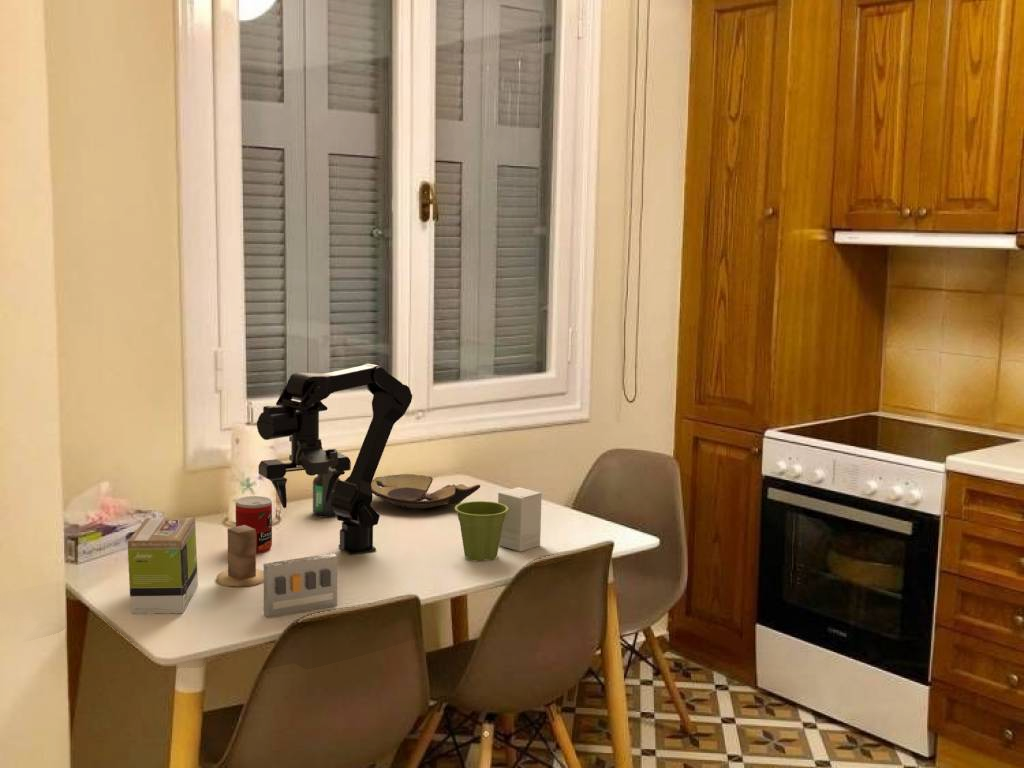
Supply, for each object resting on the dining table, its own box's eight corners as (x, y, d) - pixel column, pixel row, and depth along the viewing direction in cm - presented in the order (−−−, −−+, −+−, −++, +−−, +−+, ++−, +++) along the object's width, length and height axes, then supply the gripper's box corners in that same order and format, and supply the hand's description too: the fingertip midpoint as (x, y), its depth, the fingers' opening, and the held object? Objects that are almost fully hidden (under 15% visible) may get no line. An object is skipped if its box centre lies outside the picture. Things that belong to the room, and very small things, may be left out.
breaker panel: (332, 602, 219) (333, 553, 217) (338, 607, 217) (339, 557, 215) (263, 614, 212) (263, 563, 210) (269, 619, 209) (268, 568, 208)
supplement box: (541, 545, 259) (543, 492, 257) (519, 552, 253) (521, 498, 251) (517, 538, 264) (519, 486, 261) (495, 545, 258) (497, 491, 256)
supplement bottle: (319, 519, 274) (319, 471, 272) (308, 512, 280) (308, 465, 278) (345, 515, 278) (345, 468, 276) (333, 508, 283) (333, 462, 281)
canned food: (263, 555, 246) (263, 506, 244) (229, 551, 247) (229, 503, 246) (277, 544, 253) (277, 497, 252) (244, 541, 255) (244, 494, 253)
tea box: (147, 587, 224) (146, 515, 222) (199, 587, 225) (197, 515, 223) (128, 615, 210) (126, 538, 207) (183, 614, 211) (182, 538, 208)
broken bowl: (414, 487, 306) (415, 460, 305) (492, 511, 286) (493, 482, 285) (349, 501, 290) (349, 473, 289) (426, 528, 270) (426, 497, 269)
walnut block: (244, 571, 233) (244, 524, 232) (255, 576, 231) (255, 529, 229) (228, 575, 231) (227, 528, 229) (239, 580, 228) (238, 533, 226)
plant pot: (506, 548, 256) (508, 500, 254) (507, 566, 244) (509, 515, 242) (454, 547, 255) (455, 499, 253) (452, 564, 244) (454, 514, 242)
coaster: (257, 567, 238) (256, 565, 237) (273, 582, 229) (273, 579, 229) (210, 575, 232) (210, 572, 232) (225, 590, 224) (225, 587, 224)
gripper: (276, 445, 225) (276, 520, 227) (362, 436, 235) (361, 509, 237) (257, 434, 234) (257, 506, 237) (340, 426, 244) (339, 496, 246)
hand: (305, 505), depth 239 cm, fingers open, 9 cm apart
